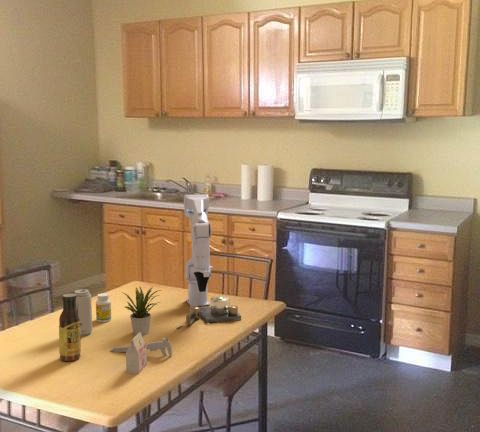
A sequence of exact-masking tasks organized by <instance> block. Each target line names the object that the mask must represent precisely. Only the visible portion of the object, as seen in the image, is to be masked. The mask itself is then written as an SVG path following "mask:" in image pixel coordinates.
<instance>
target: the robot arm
mask: <svg viewBox="0 0 480 432" xmlns="http://www.w3.org/2000/svg"><path fill="white" fill-rule="evenodd" d="M209 197H210V196H209V195H208V193H205V194H186V193H185V195H184V196H183V209H184V212H183V213H184V215H185V217H187V218H189V222H190V231H191V233H190V235H191V258H190V259H189V260H187V261H186V263H185V280H186V281H187V282H188V284H187V298H186V299H185V301H186V302H187V304H188V305H189V306H190V307H192V306H198V307H205V306H211V302H210V301H209V300H208V283H209V282H210V280H211V279H212V270H213V269H214V266H212V265H211V255H210V252H211V250H210V248H211V247H210V246H211V245H210V243H211V242H210V241H211V240H210V239H211V238H212V226H211V225H212V224H211V222H210V221H208V219H209V218H208V213H209V207H210V200H209V199H210V198H209Z"/></svg>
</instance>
